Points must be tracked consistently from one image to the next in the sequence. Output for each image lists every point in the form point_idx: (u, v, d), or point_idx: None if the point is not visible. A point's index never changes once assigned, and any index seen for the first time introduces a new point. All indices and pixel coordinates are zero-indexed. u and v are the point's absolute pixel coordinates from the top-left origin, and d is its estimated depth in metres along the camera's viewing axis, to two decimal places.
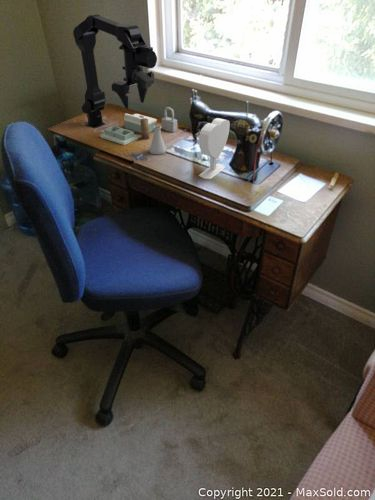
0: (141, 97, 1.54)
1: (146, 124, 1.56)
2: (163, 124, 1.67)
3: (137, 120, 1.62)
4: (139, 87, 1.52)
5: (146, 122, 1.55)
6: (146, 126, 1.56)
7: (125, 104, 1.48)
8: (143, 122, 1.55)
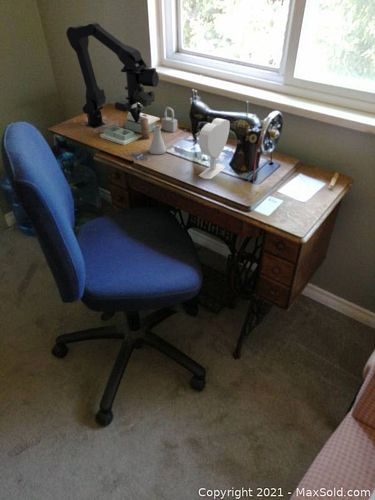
0: None
1: (146, 124, 1.56)
2: (163, 124, 1.67)
3: (140, 119, 1.64)
4: None
5: (146, 122, 1.55)
6: (146, 126, 1.56)
7: (135, 118, 1.62)
8: (143, 122, 1.55)
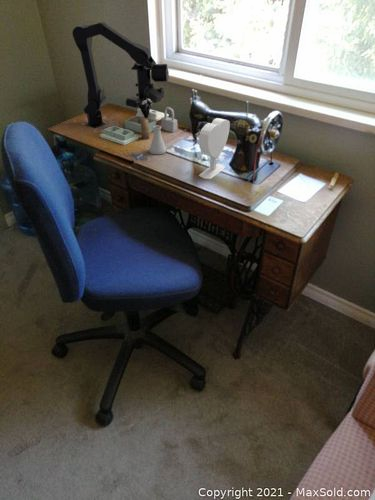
0: None
1: (146, 124, 1.56)
2: (163, 124, 1.67)
3: (150, 115, 1.68)
4: None
5: (146, 122, 1.55)
6: (146, 126, 1.56)
7: (144, 114, 1.66)
8: (143, 122, 1.55)
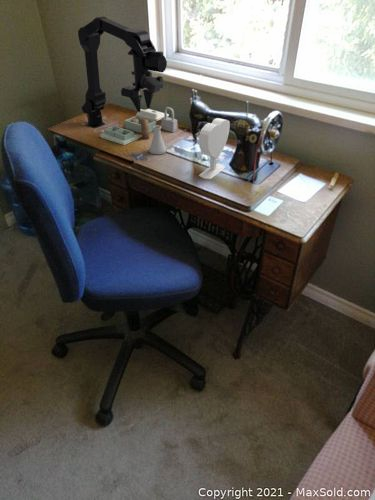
0: (147, 102, 1.54)
1: (146, 124, 1.56)
2: (163, 124, 1.67)
3: (150, 115, 1.68)
4: (145, 93, 1.52)
5: (146, 122, 1.55)
6: (146, 126, 1.56)
7: (137, 107, 1.50)
8: (143, 122, 1.55)
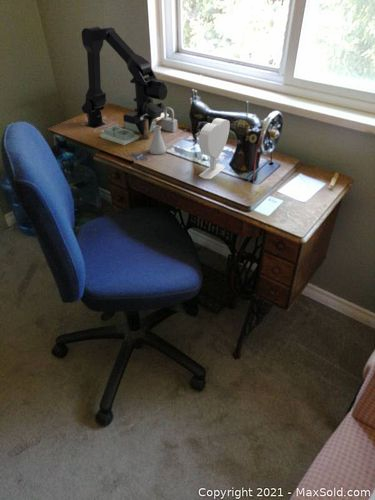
0: None
1: (146, 124, 1.56)
2: (163, 124, 1.67)
3: None
4: None
5: (146, 122, 1.55)
6: (146, 126, 1.56)
7: (141, 131, 1.57)
8: None
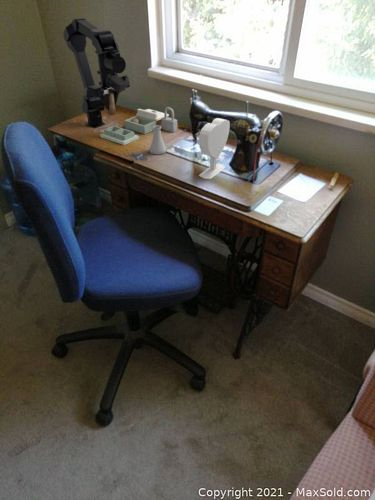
0: None
1: (111, 98, 1.51)
2: (163, 124, 1.67)
3: (150, 115, 1.68)
4: (110, 92, 1.54)
5: (111, 96, 1.51)
6: (111, 100, 1.52)
7: (106, 106, 1.52)
8: None
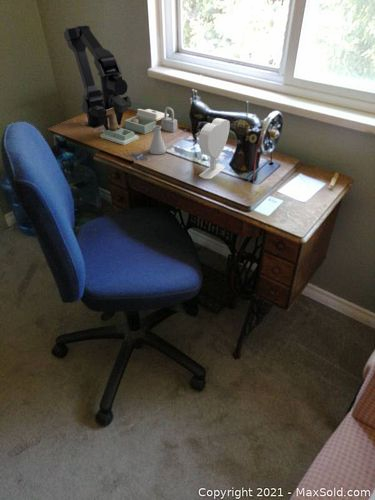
0: (118, 120, 1.61)
1: (114, 119, 1.57)
2: (163, 124, 1.67)
3: (150, 115, 1.68)
4: (116, 110, 1.60)
5: (114, 117, 1.56)
6: (114, 121, 1.57)
7: (105, 126, 1.56)
8: (110, 117, 1.56)
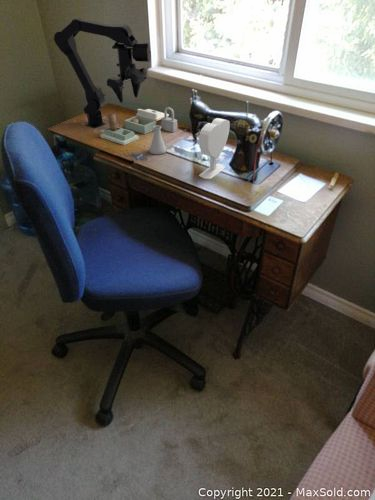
0: (135, 92, 1.65)
1: (114, 119, 1.57)
2: (163, 124, 1.67)
3: (150, 115, 1.68)
4: (133, 83, 1.64)
5: (113, 117, 1.56)
6: (114, 121, 1.57)
7: (120, 98, 1.59)
8: (110, 117, 1.56)
